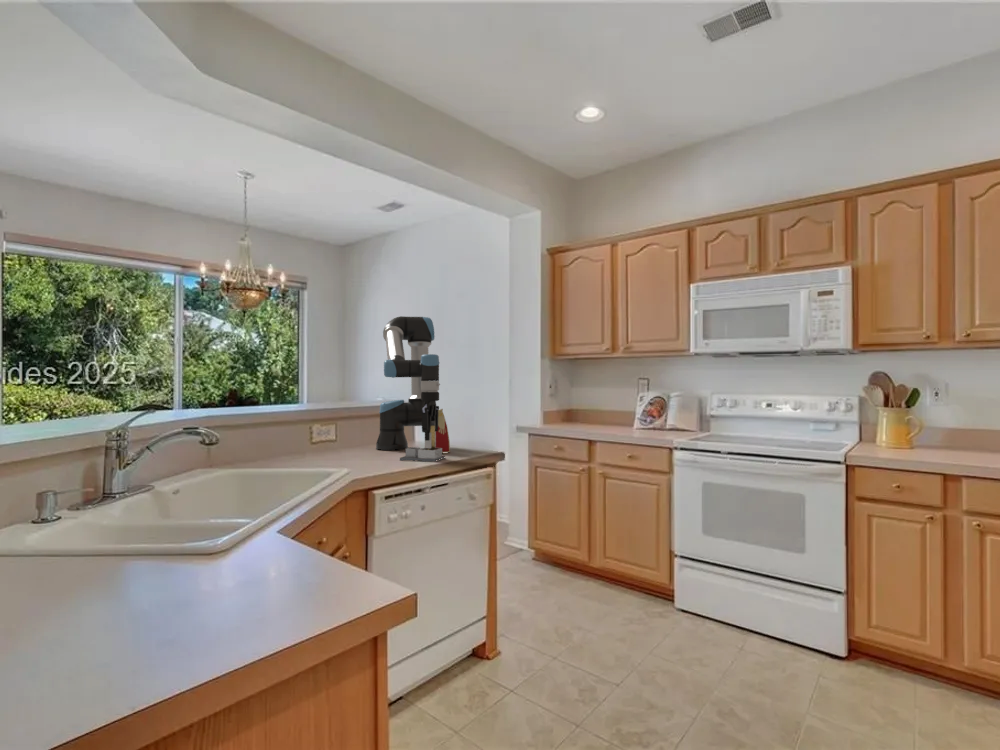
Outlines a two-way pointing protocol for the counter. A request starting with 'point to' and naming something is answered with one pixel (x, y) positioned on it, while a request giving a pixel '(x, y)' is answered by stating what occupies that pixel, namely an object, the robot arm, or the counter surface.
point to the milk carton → (442, 433)
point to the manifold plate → (422, 454)
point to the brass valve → (432, 436)
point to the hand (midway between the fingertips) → (430, 447)
